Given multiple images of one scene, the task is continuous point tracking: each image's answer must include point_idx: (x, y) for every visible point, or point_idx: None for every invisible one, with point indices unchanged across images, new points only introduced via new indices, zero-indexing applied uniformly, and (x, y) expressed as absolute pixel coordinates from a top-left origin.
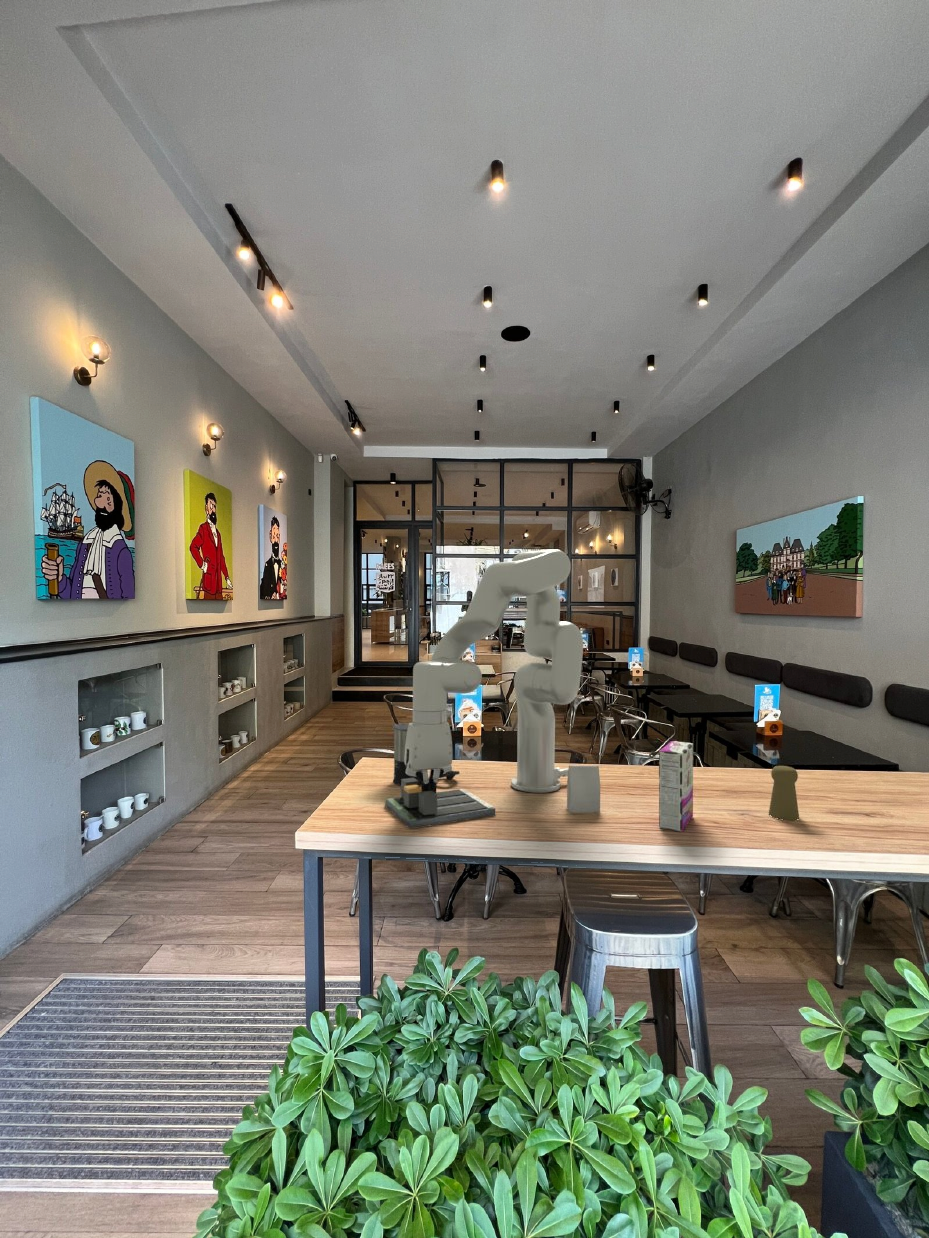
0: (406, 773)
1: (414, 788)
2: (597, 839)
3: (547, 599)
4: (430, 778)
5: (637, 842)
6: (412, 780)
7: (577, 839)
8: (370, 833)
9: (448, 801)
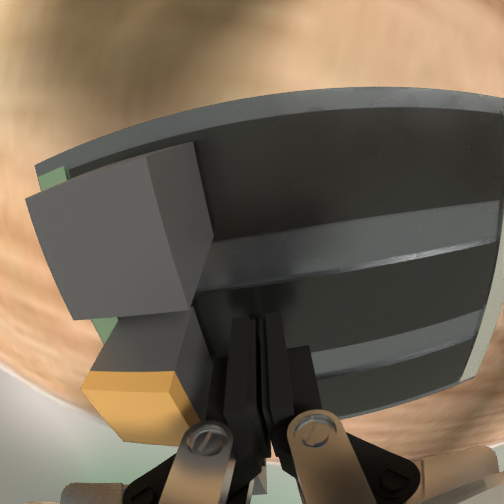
0: (75, 497)
1: (155, 437)
2: (482, 442)
3: None
4: (283, 462)
5: (500, 439)
6: (127, 277)
7: (465, 447)
8: (67, 398)
9: (385, 303)
